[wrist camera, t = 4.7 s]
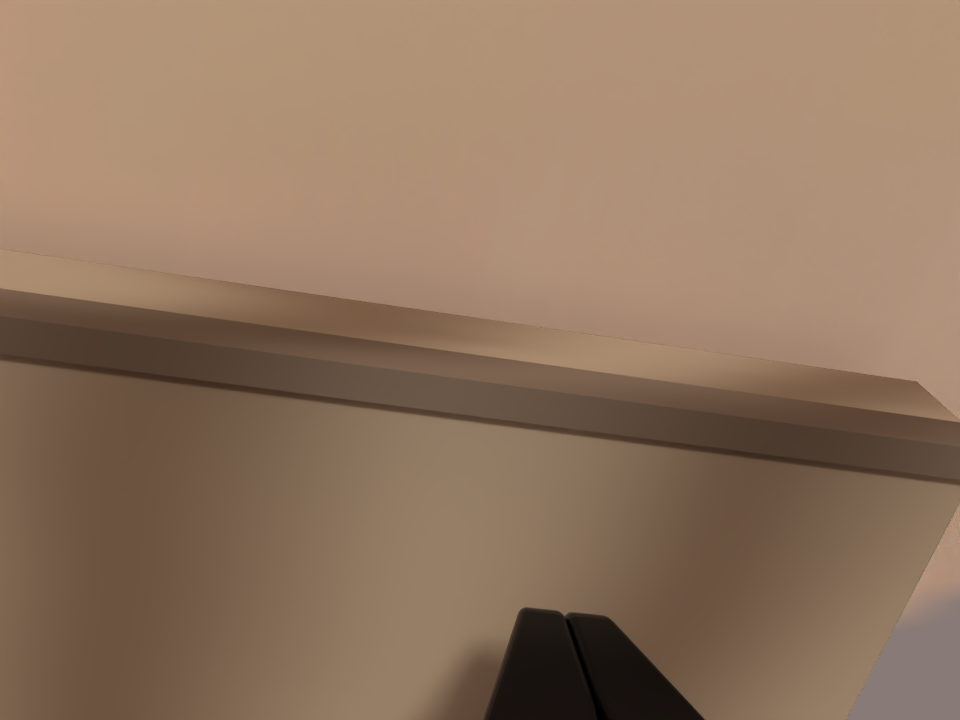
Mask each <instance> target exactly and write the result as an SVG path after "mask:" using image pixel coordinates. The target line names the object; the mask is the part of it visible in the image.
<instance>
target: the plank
mask: <svg viewBox="0 0 960 720" xmlns="http://www.w3.org/2000/svg"><path fill="white" fill-rule="evenodd" d="M959 503H960V420H959V419H958V418H957V417H956V416H955V415H954V414H952V413H951V412H950V411H949V410H948V409H947V408H946V407H945V406H943V405H942V404H941V403H940V402H939V401H938V400H937V399H936V398H934V397H933V396H932V395H931V394H930V393H929V392H928V391H927V390H925V389H924V388H923V387H922V386H921V385H920V384H919V383H918V382H916V381H909V380H902V379H895V378H888V377H881V376H874V375H867V374H860V373H853V372H847V371H840V370H833V369H826V368H819V367H812V366H805V365H798V364H791V363H784V362H777V361H770V360H764V359H757V358H750V357H743V356H736V355H729V354H722V353H715V352H708V351H701V350H694V349H688V348H681V347H674V346H667V345H660V344H653V343H646V342H639V341H632V340H625V339H618V338H611V337H605V336H598V335H591V334H584V333H577V332H570V331H563V330H556V329H549V328H542V327H535V326H528V325H522V324H515V323H508V322H501V321H494V320H487V319H480V318H473V317H466V316H459V315H452V314H445V313H439V312H432V311H425V310H418V309H411V308H404V307H397V306H390V305H383V304H376V303H369V302H363V301H356V300H349V299H342V298H335V297H328V296H321V295H314V294H307V293H300V292H293V291H286V290H280V289H273V288H266V287H259V286H252V285H245V284H238V283H231V282H224V281H217V280H210V279H203V278H197V277H190V276H183V275H176V274H169V273H162V272H155V271H148V270H141V269H134V268H127V267H120V266H114V265H107V264H100V263H93V262H86V261H79V260H72V259H65V258H58V257H51V256H44V255H38V254H31V253H24V252H17V251H10V250H3V249H0V720H483V717H484V714H485V711H486V708H487V705H488V702H489V699H490V696H491V693H492V690H493V687H494V684H495V681H496V678H497V675H498V672H499V669H500V666H501V663H502V660H503V657H504V654H505V651H506V648H507V645H508V642H509V639H510V636H511V633H512V630H513V627H514V624H515V621H516V618H517V615H518V613H519V611H520V610H521V609H522V608H524V607H530V608H540V609H549V610H557V611H559V612H561V613H562V614H563V615H566V614H567V613H569V612H578V613H587V614H597V615H604V616H607V617H609V618H610V619H611V620H612V621H614V622H615V624H616V625H617V626H618V627H619V628H620V629H621V630H622V631H623V632H624V633H625V634H626V635H627V636H628V637H629V638H630V640H631V641H632V642H633V643H634V644H635V645H636V646H637V647H638V648H639V649H640V650H641V651H642V652H643V653H644V655H645V656H646V657H647V658H648V659H649V660H650V661H651V662H652V663H653V664H654V665H655V666H656V667H657V668H658V669H659V671H660V672H661V673H662V674H663V675H664V676H665V677H666V678H667V679H668V680H669V681H670V682H671V683H672V684H673V686H674V687H675V688H676V689H677V690H678V691H679V692H680V693H681V694H682V695H683V696H684V697H685V698H686V699H687V700H688V702H689V703H690V704H691V705H692V706H693V707H694V708H695V709H696V710H697V711H698V712H699V713H700V714H701V715H702V717H703V718H704V719H705V720H846V719H847V717H848V715H849V713H850V711H851V709H852V708H853V706H854V704H855V702H856V700H857V698H858V696H859V694H860V692H861V690H862V688H863V687H864V685H865V682H866V681H867V679H868V677H869V675H870V673H871V671H872V669H873V668H874V665H875V664H876V662H877V660H878V658H879V656H880V654H881V652H882V650H883V648H884V646H885V645H886V643H887V641H888V639H889V637H890V635H891V633H892V631H893V629H894V627H895V626H896V624H897V622H898V620H899V618H900V616H901V614H902V612H903V610H904V608H905V606H906V605H907V603H908V601H909V599H910V597H911V595H912V593H913V591H914V589H915V587H916V585H917V584H918V582H919V580H920V578H921V576H922V574H923V572H924V570H925V568H926V566H927V565H928V563H929V561H930V559H931V557H932V555H933V553H934V551H935V549H936V547H937V545H938V544H939V542H940V540H941V538H942V536H943V534H944V532H945V530H946V528H947V526H948V524H949V523H950V521H951V519H952V517H953V515H954V513H955V511H956V509H957V507H958V505H959Z"/></svg>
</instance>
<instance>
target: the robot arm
mask: <svg viewBox="0 0 960 720" xmlns="http://www.w3.org/2000/svg"><path fill="white" fill-rule="evenodd" d="M483 720H705V719H704V718H703V717H702V715H701V714H700V713H699V712H698V711H697V710H696V709H695V708H694V707H693V706H692V705H691V704H690V703H689V702H688V700H687V699H686V698H685V697H684V696H683V695H682V694H681V693H680V692H679V691H678V690H677V689H676V688H675V687H674V686H673V684H672V683H671V682H670V681H669V680H668V679H667V678H666V677H665V676H664V675H663V674H662V673H661V672H660V671H659V669H658V668H657V667H656V666H655V665H654V664H653V663H652V662H651V661H650V660H649V659H648V658H647V657H646V656H645V655H644V653H643V652H642V651H641V650H640V649H639V648H638V647H637V646H636V645H635V644H634V643H633V642H632V641H631V640H630V638H629V637H628V636H627V635H626V634H625V633H624V632H623V631H622V630H621V629H620V628H619V627H618V626H617V625H616V624H615V622H614V621H612V620H611V619H610V618H609V617H607V616H604V615H597V614H587V613H578V612H569V613H567V614H566V615H563V614H562V613H561V612H559V611H557V610H549V609H540V608H530V607H524V608H522V609H521V610H520V611H519V613H518V615H517V618H516V621H515V624H514V627H513V630H512V633H511V636H510V639H509V642H508V645H507V648H506V651H505V654H504V657H503V660H502V663H501V666H500V669H499V672H498V675H497V678H496V681H495V684H494V687H493V690H492V693H491V696H490V699H489V702H488V705H487V708H486V711H485V714H484V717H483Z"/></svg>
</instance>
